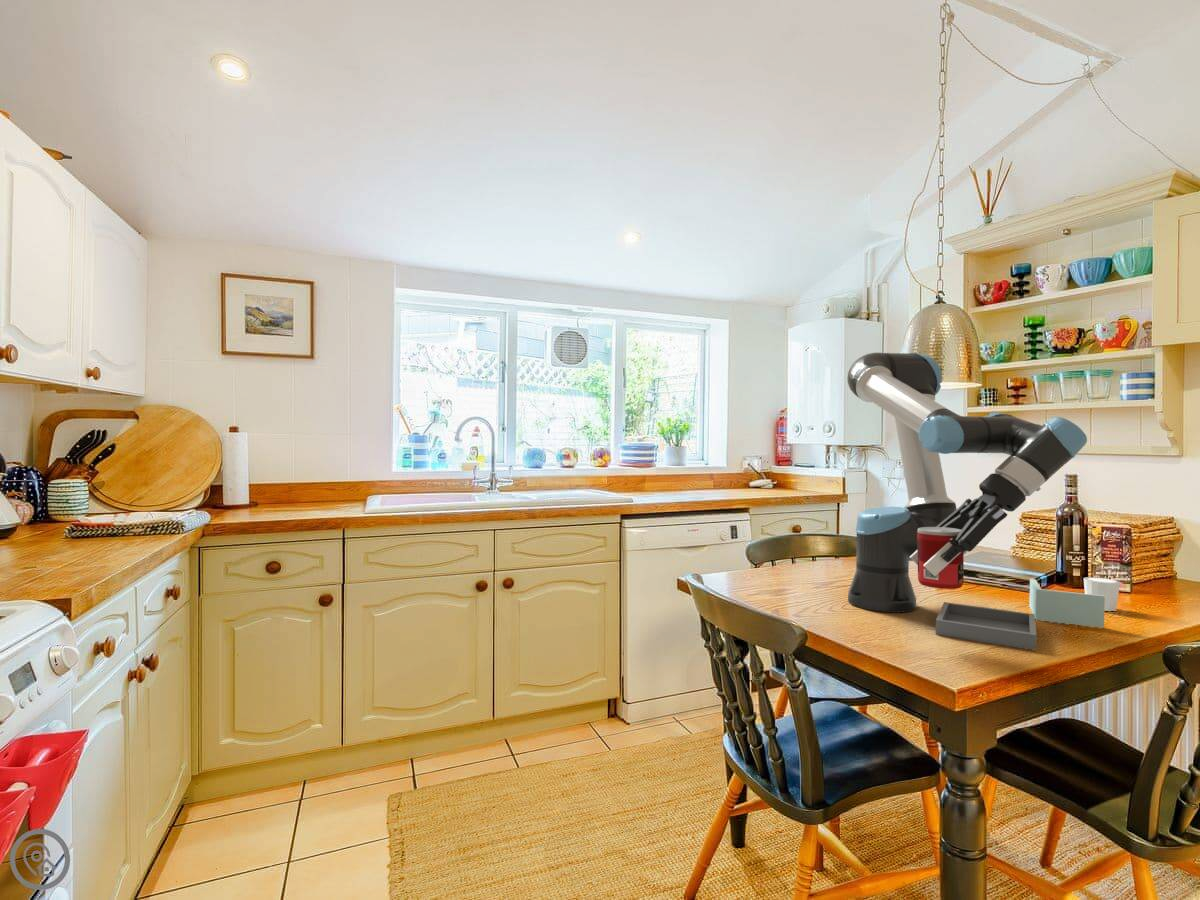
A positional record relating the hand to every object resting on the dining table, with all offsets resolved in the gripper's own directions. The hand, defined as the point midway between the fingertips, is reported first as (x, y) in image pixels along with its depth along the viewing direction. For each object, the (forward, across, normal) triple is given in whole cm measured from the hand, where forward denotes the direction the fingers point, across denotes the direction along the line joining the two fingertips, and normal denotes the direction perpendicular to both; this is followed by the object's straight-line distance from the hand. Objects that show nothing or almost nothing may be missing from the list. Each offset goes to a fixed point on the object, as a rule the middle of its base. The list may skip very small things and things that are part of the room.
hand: (921, 566), depth 124 cm
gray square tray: (0, +9, -22) cm, 24 cm away
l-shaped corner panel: (-15, +24, -38) cm, 47 cm away
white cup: (-24, +33, -47) cm, 62 cm away
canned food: (0, 0, -5) cm, 5 cm away
